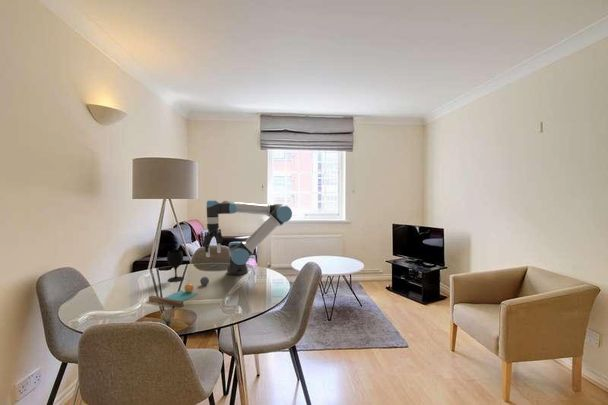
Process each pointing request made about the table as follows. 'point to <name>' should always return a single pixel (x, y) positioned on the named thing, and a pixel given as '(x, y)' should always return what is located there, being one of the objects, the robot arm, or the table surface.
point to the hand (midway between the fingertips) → (213, 254)
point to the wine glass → (175, 263)
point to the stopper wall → (166, 301)
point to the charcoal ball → (204, 281)
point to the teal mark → (181, 295)
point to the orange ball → (188, 288)
